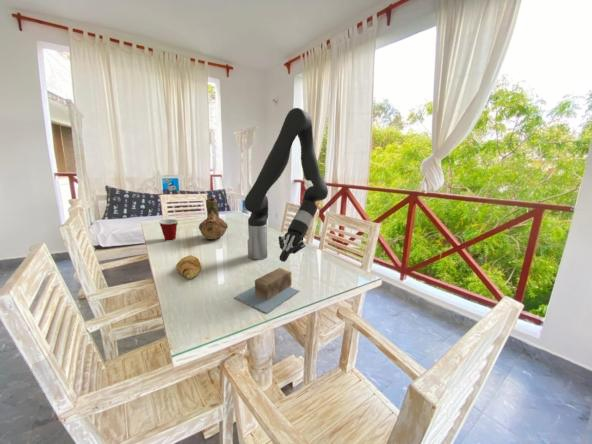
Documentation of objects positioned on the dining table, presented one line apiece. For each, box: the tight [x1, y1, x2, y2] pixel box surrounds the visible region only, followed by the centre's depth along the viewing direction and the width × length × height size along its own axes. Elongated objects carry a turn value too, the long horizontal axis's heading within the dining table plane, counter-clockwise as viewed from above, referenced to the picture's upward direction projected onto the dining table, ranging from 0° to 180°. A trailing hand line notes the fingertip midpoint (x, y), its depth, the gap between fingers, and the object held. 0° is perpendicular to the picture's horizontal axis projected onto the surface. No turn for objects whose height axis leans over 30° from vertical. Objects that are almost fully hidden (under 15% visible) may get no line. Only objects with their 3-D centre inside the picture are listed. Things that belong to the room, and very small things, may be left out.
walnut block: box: [254, 267, 292, 300], centre depth 97 cm, size 6×6×14 cm
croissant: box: [175, 255, 202, 280], centre depth 114 cm, size 21×10×8 cm, turn 27°
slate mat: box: [234, 285, 300, 314], centre depth 95 cm, size 18×16×1 cm
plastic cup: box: [158, 218, 179, 241], centre depth 156 cm, size 11×11×12 cm
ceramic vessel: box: [198, 197, 228, 240], centre depth 157 cm, size 17×26×25 cm, turn 16°
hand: (281, 260), depth 99 cm, fingers closed
